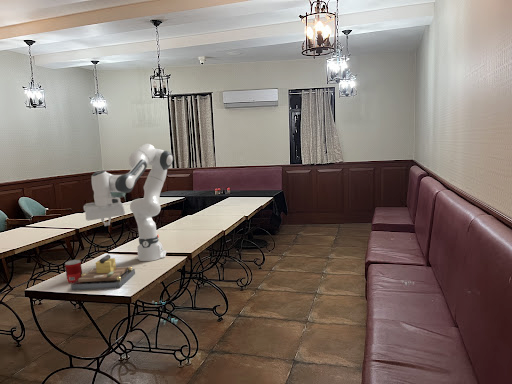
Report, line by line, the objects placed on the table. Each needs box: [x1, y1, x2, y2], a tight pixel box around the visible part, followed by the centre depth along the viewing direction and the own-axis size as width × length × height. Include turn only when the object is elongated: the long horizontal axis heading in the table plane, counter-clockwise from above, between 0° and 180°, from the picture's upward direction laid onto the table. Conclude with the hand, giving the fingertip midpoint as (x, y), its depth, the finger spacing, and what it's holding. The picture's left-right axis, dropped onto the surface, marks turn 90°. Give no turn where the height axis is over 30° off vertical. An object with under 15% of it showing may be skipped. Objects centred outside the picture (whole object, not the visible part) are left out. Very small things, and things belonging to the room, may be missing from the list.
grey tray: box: [70, 266, 136, 291], centre depth 218 cm, size 22×26×5 cm
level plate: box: [78, 254, 129, 282], centre depth 218 cm, size 19×20×10 cm
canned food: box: [64, 259, 83, 284], centre depth 223 cm, size 8×8×11 cm
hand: (107, 225), depth 219 cm, fingers closed
